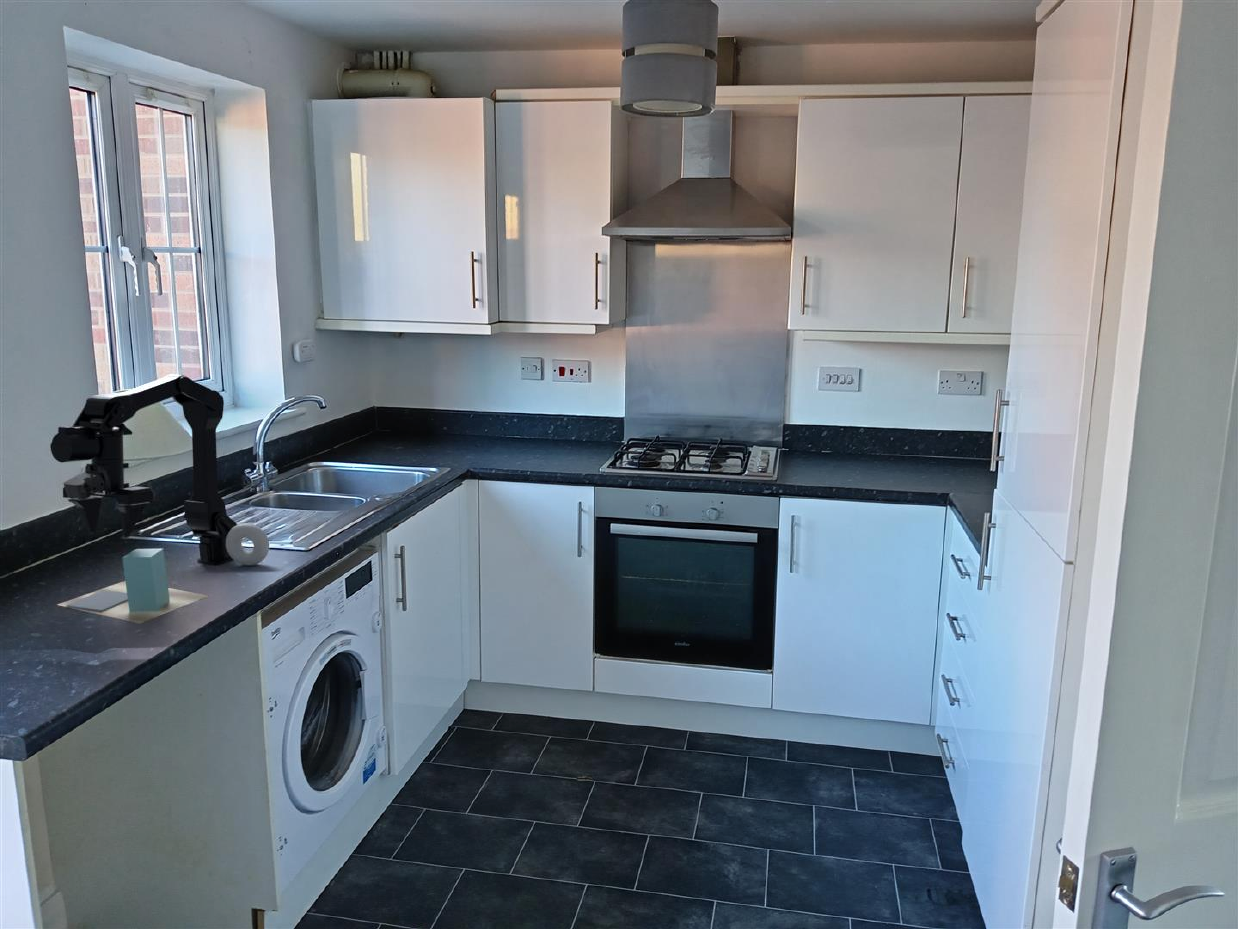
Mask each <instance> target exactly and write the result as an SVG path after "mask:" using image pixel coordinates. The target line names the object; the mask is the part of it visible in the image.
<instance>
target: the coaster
mask: <svg viewBox="0 0 1238 929" xmlns="http://www.w3.org/2000/svg"><path fill="white" fill-rule="evenodd" d="M126 601H128V597H127V593H124V592H116V591H108V590H102V591H100V592H98V593H95V594H93V595H90V596H88V597H85V598H83V599H80V600H78V601H75V602H73V603H70V604H68V605H66V606H67V607H66V608H68V607H70V608H69V609H72V608H77V609H84V610H92V611H99V612H103V611H106V610H108V609H110V608H112V607H115V606H117V605H119V604H122V603H124V602H126ZM77 609H76V610H77Z"/></svg>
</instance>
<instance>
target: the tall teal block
mask: <svg viewBox="0 0 1238 929" xmlns="http://www.w3.org/2000/svg"><path fill="white" fill-rule="evenodd" d="M121 559H122V565H123V572H124V574H123V575H124V581H125V582H126V589H127V597H128V604H129V612H136V611H158V610H159V609H161V608H162V607H163V606H164V605H166V604H167V603H168V602H169V601H170V599H169V590H168V588H169V583H168V577H167V576H168V575H167V567H166V560H165V559H166V558H165V552H164V548H136V549H135V548H134V550H131V551H130V552H129V553H128V554H125V555H124V556H123V557H122V558H121Z"/></svg>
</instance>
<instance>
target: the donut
mask: <svg viewBox="0 0 1238 929" xmlns="http://www.w3.org/2000/svg"><path fill="white" fill-rule="evenodd" d="M237 524H238V523H237ZM243 539H249V540H250V541H251V542H252V544H253V548H252V550H247V549H245V547H244V546H243V545H242V541H243ZM226 548H227V552H228V553H229V555H230V556H231V558H232V559H231V560H233V561H234V562H235V563H238V564H240V565H243V566H247V567H249V566H250V567H251V566H256V565H258V564H261V563H262V562H263V561H264V560H265V559H266V558H267V556H268V554H269V551H270V541H269V538H268V535H267V533H266V532H265V530H263V529H262V528H261V527H260V526H258V525H255V524H254V523H248V522H245V523H244V522H243V523H239V524H238V525H236V526H234V527H233V528H232V529H231V530H230V531H229V532H228V535H227V537H226Z"/></svg>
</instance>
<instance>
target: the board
mask: <svg viewBox="0 0 1238 929" xmlns="http://www.w3.org/2000/svg"><path fill="white" fill-rule="evenodd" d="M102 590H108V591H116V592H124V593H127V589H126V582H125V580H124V581H120V582H118V583H114V584H112V585H109V586H105V587H103V588H100V589H98V590H95V591H92V592H90V593H87V594H86V593H85V594H84V595H80V596H77V597H75V598H71V599H70V600H69V599H68V600H67V601H63V602H61V603H60V602H59V603H58V604H56V605H57V606H59V607H64V608H67V609H71V610H78V611H81V612H82V611H83V612H85V613H90V614H96V615H99V616H104V617H109V618H113V619H116V620H121V621H126V622H131V623H133V624H134V623H135V624H138V625H139V624H143V623H145V622H147V621H150V620H152V619H155V618H157V617H160V616H162V615H165V614H168V613H170V612H172V611H175V610H178V609H180V608H182V607H183V608H184V607H185V606H187V605H190V604H192V603H195V602H198V601H201V600H203V599H205V598H207V597H209V595H206V594H201V593H197V592H191V591H186V590H182V589H181V590H180V589H176V588H170V587H168V590H169V599H170V601H169V602H168V603H167V604H166V605H164V606H163V607H162V608H161V609H159V610H158V611H136V612H129V604H128V601H126V602H124V603H122V604H119V605H117V606H115V607H112V608H110V609H108V610H106V611H103V612H99V611H92V610H84V609H77V608H70V607H67V606H66V605H68V604H70V603H73V602H75V601H78V600H80V599H83V598H85V597H88V596H90V595H93V594H95V593H98V592H100V591H102Z"/></svg>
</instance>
